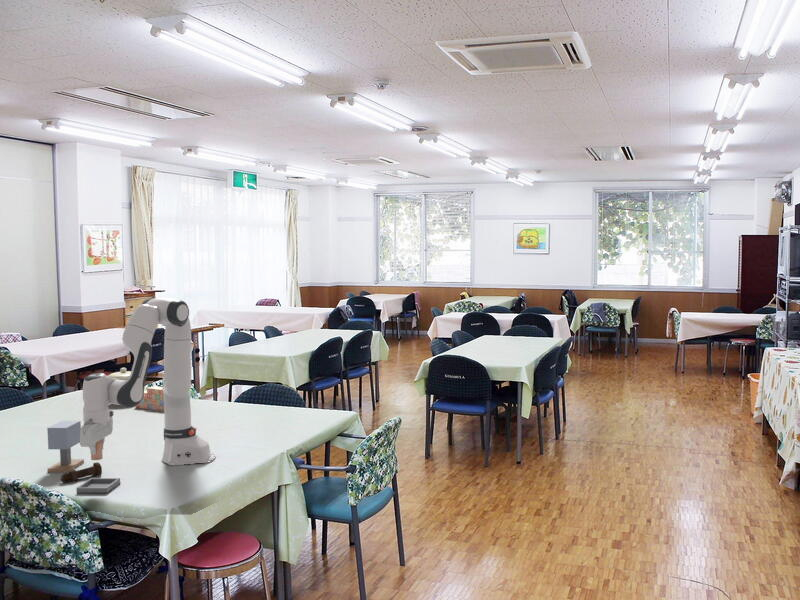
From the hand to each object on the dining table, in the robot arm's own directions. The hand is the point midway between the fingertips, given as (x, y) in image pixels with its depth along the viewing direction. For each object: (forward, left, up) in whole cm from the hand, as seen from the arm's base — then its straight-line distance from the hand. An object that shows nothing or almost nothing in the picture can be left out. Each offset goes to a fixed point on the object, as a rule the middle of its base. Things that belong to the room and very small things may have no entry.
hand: (97, 452), depth 274 cm
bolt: (+13, -12, -15) cm, 23 cm away
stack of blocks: (+31, -137, -15) cm, 141 cm away
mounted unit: (+26, -26, -14) cm, 40 cm away
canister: (+54, -151, -15) cm, 161 cm away
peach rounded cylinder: (0, 0, -3) cm, 3 cm away
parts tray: (0, 0, -14) cm, 14 cm away
